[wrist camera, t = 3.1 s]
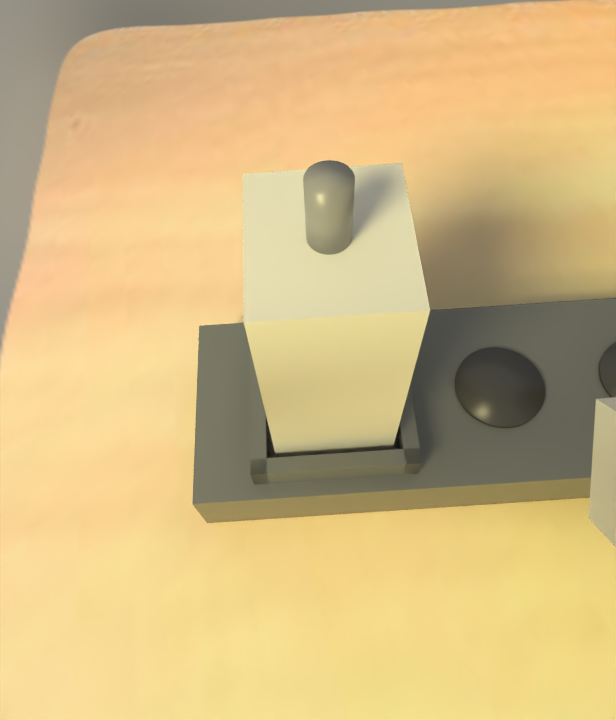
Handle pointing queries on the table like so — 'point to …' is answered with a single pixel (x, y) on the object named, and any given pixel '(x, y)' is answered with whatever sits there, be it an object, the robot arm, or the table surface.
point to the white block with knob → (332, 304)
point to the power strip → (423, 420)
